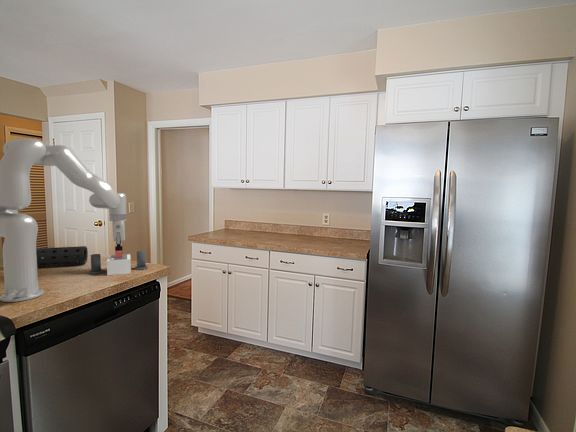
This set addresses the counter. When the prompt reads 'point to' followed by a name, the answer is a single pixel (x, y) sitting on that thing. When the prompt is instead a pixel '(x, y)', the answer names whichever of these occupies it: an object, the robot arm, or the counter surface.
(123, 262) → the switch box
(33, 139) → the robot arm
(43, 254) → the muzzle brake
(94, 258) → the gray post with base
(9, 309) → the counter surface
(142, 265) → the spool right
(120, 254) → the slider
